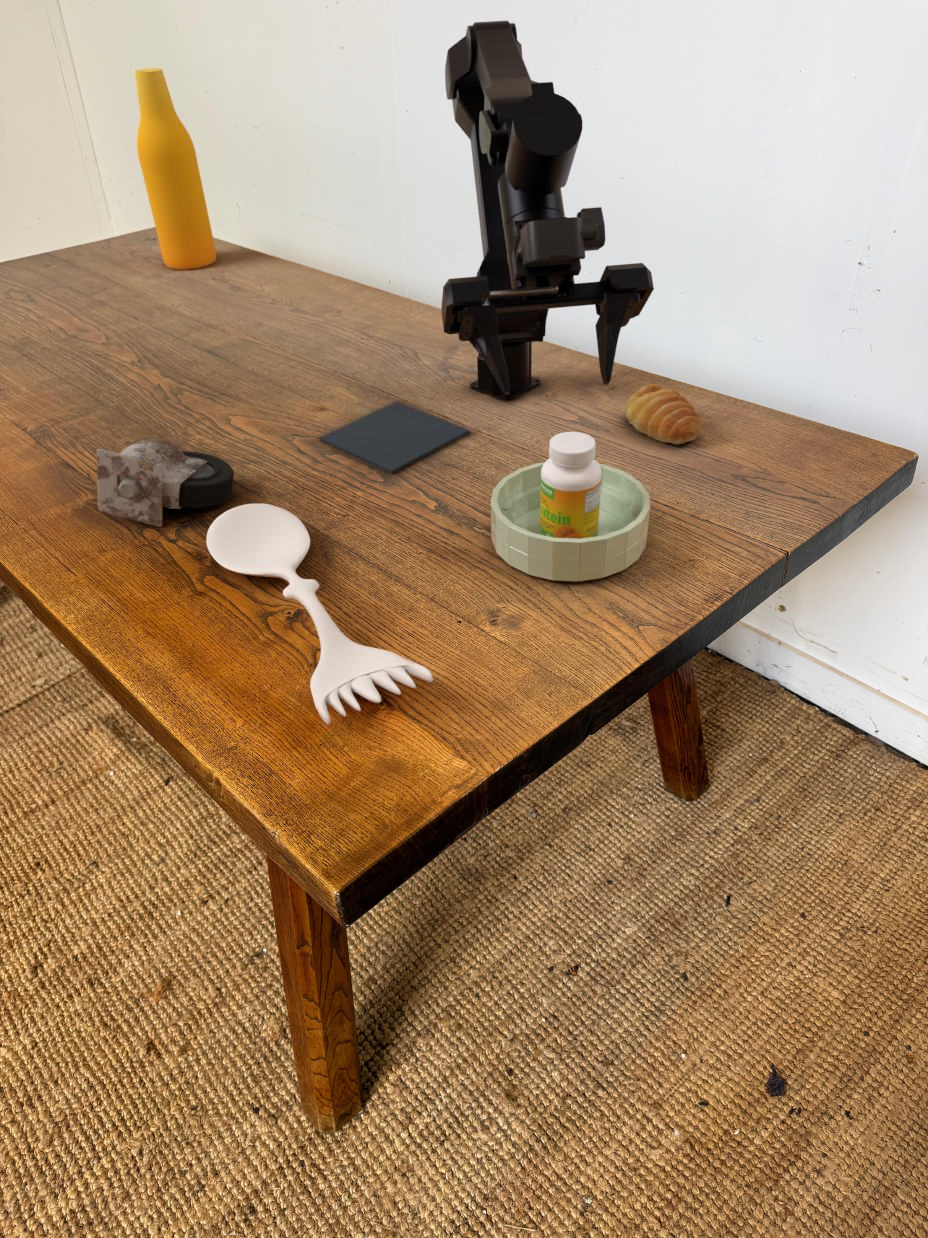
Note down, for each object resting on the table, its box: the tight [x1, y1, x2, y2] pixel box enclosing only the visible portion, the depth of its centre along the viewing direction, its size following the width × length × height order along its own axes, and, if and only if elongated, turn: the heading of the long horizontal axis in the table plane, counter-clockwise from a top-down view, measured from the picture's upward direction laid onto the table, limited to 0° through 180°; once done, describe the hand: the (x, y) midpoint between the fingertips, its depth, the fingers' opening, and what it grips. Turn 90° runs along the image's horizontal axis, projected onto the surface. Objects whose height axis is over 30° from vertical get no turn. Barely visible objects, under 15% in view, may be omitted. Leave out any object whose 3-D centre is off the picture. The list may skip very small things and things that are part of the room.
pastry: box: [624, 383, 703, 445], centre depth 98 cm, size 9×7×4 cm
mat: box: [319, 401, 470, 474], centre depth 100 cm, size 12×12×1 cm
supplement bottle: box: [540, 431, 602, 539], centre depth 79 cm, size 5×5×10 cm
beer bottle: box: [134, 67, 217, 271], centre depth 146 cm, size 9×9×29 cm
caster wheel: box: [96, 438, 235, 528], centre depth 89 cm, size 7×11×10 cm
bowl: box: [490, 461, 651, 582], centre depth 81 cm, size 14×14×4 cm
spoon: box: [205, 503, 434, 726], centre depth 74 cm, size 9×32×4 cm, turn 30°
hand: (557, 388), depth 79 cm, fingers open, 9 cm apart
